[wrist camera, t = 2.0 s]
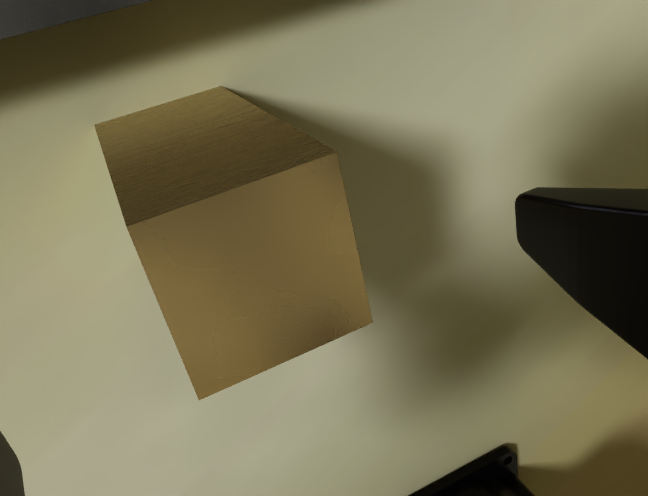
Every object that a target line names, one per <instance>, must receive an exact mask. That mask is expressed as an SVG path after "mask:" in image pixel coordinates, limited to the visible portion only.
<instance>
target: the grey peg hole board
mask: <svg viewBox="0 0 648 496" xmlns="http://www.w3.org/2000/svg"><path fill="white" fill-rule="evenodd" d="M148 1H152V0H0V40H1V39H4V38H8V37H12V36H16V35H20V34H24V33H28V32H32V31H35V30H39V29H43V28H47V27H51V26H55V25H59V24H63V23H66V22H70V21H74V20H78V19H82V18H86V17H90V16H94V15H97V14H101V13H105V12H109V11H113V10H117V9H121V8H125V7H128V6H132V5H136V4H140V3H144V2H148Z"/></svg>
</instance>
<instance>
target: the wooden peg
mask: <svg viewBox="0 0 648 496" xmlns="http://www.w3.org/2000/svg"><path fill="white" fill-rule="evenodd" d="M94 126H95V129H96V132H97V136H98V139H99V142H100V145H101V148H102V151H103V154H104V158H105V161H106V164H107V167H108V170H109V173H110V176H111V180H112V183H113V186H114V189H115V192H116V195H117V198H118V202H119V205H120V208H121V211H122V214H123V217H124V220H125V224H126V227H127V229H128V232H129V234H130V236H131V239H132V241H133V243H134V246H135V248H136V251H137V253H138V255H139V258H140V260H141V263H142V265H143V267H144V270H145V272H146V275H147V277H148V279H149V282H150V284H151V287H152V289H153V291H154V294H155V296H156V298H157V301H158V303H159V306H160V308H161V310H162V313H163V315H164V318H165V320H166V322H167V325H168V327H169V330H170V332H171V334H172V337H173V339H174V341H175V344H176V346H177V349H178V351H179V353H180V356H181V358H182V361H183V363H184V365H185V368H186V370H187V373H188V375H189V377H190V380H191V382H192V384H193V387H194V389H195V392H196V394H197V396H198V399H199V400H201V399H203V398H205V397H208V396H210V395H212V394H214V393H216V392H219V391H221V390H223V389H225V388H228V387H230V386H232V385H234V384H237V383H239V382H241V381H243V380H246V379H248V378H250V377H252V376H254V375H257V374H259V373H261V372H263V371H266V370H268V369H270V368H272V367H275V366H277V365H279V364H281V363H284V362H286V361H288V360H290V359H292V358H295V357H297V356H299V355H301V354H304V353H306V352H308V351H310V350H313V349H315V348H317V347H319V346H322V345H324V344H326V343H328V342H330V341H333V340H335V339H337V338H339V337H342V336H344V335H346V334H348V333H351V332H353V331H355V330H357V329H359V328H362V327H364V326H366V325H368V324H371V323H373V321H372V316H371V311H370V307H369V302H368V297H367V292H366V288H365V283H364V278H363V274H362V269H361V264H360V259H359V255H358V250H357V245H356V240H355V236H354V231H353V226H352V221H351V217H350V212H349V207H348V202H347V198H346V193H345V188H344V183H343V179H342V174H341V169H340V164H339V160H338V155H337V152H336V151H334V150H332V149H331V148H329V147H327V146H325V145H324V144H322V143H320V142H318V141H317V140H315V139H313V138H311V137H310V136H308V135H306V134H304V133H303V132H301V131H299V130H297V129H295V128H294V127H292V126H290V125H288V124H287V123H285V122H283V121H281V120H280V119H278V118H276V117H274V116H273V115H271V114H269V113H267V112H266V111H264V110H262V109H260V108H259V107H257V106H255V105H253V104H252V103H250V102H248V101H246V100H245V99H243V98H241V97H239V96H238V95H236V94H234V93H232V92H231V91H229V90H227V89H225V88H224V87H222V86H220V87H217V88H213V89H210V90H207V91H204V92H200V93H197V94H194V95H191V96H187V97H184V98H181V99H177V100H174V101H171V102H168V103H164V104H161V105H158V106H155V107H151V108H148V109H145V110H142V111H138V112H135V113H132V114H128V115H125V116H122V117H119V118H115V119H112V120H109V121H106V122H102V123H99V124H96V125H94Z"/></svg>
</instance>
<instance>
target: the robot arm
mask: <svg viewBox="0 0 648 496" xmlns="http://www.w3.org/2000/svg"><path fill="white" fill-rule="evenodd" d="M515 214H516V230H517V239H518V242H519V244H520V246H521V247H522V249H523V250H524V251H525V252H526V253H527V254H528V255H529V256H530V257H531V258H532V259H533V260H534V261H535V262H536V263H537V264H538V265H539V266H540V267H541V268H542V269H543V270H544V271H545V272H546V273H547V274H548V275H549V276H550V277H551V278H552V279H553V280H555V281H556V282H557V283H558V284H559V285H560V286H561V287H562V288H563V289H564V290H565V291H566V292H567V293H568V294H569V295H570V296H571V297H572V298H573V299H574V300H575V301H576V302H577V303H579V304H580V305H581V306H582V307H583V308H584V309H586V310H587V311H588V312H589V313H591V314H592V315H593V316H594V317H596V318H597V319H598V320H599V321H601V322H602V323H603V324H604V325H606V326H607V327H608V328H609V329H611V330H612V331H613V332H614V333H616V334H617V335H618V336H619V337H621V338H622V339H623V340H624V341H626V342H627V343H628V344H629V345H631V346H632V347H633V348H634V349H636V350H637V351H638V352H639V353H641V354H642V355H643V356H644V357H646V358H647V359H648V189H617V188H549V187H538V188H534V189H532V190H529V191H527V192H524V193H522V194H520V195H519V196H518V197H517V198H516V201H515ZM0 496H25V494H24V486H23V478H22V470H21V466H20V463H19V460H18V458H17V456H16V454H15V453H14V451H13V450H12V448H11V447H10V445H9V443H8V442H7V440H6V439H5V437H4V436H3V434H2V433H1V431H0ZM414 496H535V495H534V494H533V493H532V492H531V491H530V490H529V489H528V488H527V487H526V486H525V485H524V484H523V483H522V482H521V480H520V479H519V478H518V469H517V456H516V453H515V452H514V451H513V450H512V449H511V448H509V447H508V446H505V447H502V448H500V449H498V450H497V451H495V452H493V453H491V454H489V455H487V456H486V457H484V458H482V459H480V460H478V461H476V462H475V463H473V464H471V465H469V466H467V467H465V468H464V469H462V470H460V471H458V472H456V473H454V474H453V475H451V476H449V477H447V478H445V479H443V480H442V481H440V482H438V483H436V484H434V485H432V486H431V487H429V488H427V489H425V490H423V491H421V492H420V493H418V494H416V495H414Z"/></svg>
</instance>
